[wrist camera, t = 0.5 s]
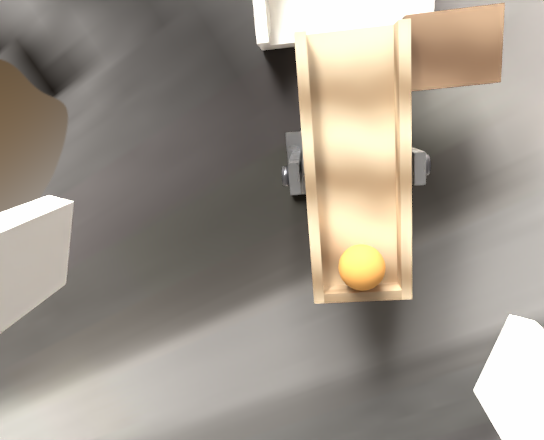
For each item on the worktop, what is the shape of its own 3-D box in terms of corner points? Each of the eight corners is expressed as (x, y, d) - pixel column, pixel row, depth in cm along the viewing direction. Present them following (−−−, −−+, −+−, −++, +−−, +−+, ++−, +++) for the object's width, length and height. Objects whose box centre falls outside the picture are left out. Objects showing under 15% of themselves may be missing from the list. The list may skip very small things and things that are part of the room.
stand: (284, 132, 38) (277, 140, 30) (404, 121, 37) (434, 125, 28) (289, 194, 40) (284, 218, 31) (405, 185, 39) (434, 207, 30)
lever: (294, 31, 29) (293, 24, 27) (497, 6, 28) (516, -4, 25) (313, 290, 34) (314, 303, 32) (485, 281, 33) (499, 295, 30)
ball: (335, 239, 32) (338, 255, 29) (380, 236, 32) (389, 252, 28) (338, 280, 33) (341, 299, 29) (381, 277, 32) (390, 297, 29)
